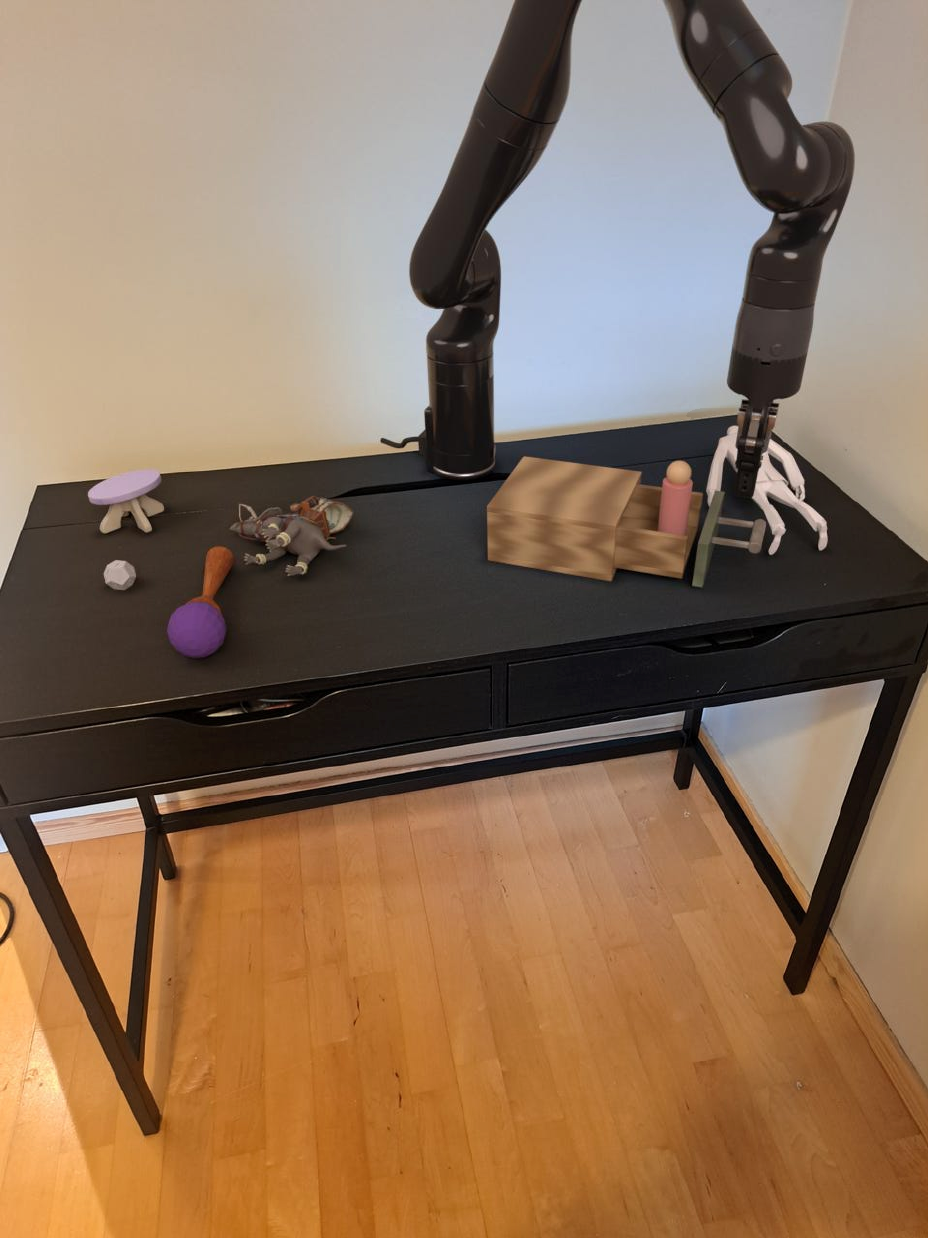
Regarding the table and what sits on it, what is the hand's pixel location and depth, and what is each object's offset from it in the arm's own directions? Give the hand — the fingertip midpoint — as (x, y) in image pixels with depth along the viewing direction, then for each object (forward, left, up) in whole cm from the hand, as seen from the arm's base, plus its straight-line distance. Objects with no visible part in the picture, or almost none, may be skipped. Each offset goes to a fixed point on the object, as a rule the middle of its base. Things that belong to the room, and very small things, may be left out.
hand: (743, 494), depth 102 cm
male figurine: (+2, +17, -10) cm, 20 cm away
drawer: (-7, 0, -9) cm, 11 cm away
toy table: (-78, -13, -10) cm, 79 cm away
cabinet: (-21, 0, -10) cm, 23 cm away
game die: (-69, -27, -10) cm, 74 cm away
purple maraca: (-55, -29, -10) cm, 63 cm away
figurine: (-53, -11, -10) cm, 55 cm away
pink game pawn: (-7, 0, -8) cm, 11 cm away
